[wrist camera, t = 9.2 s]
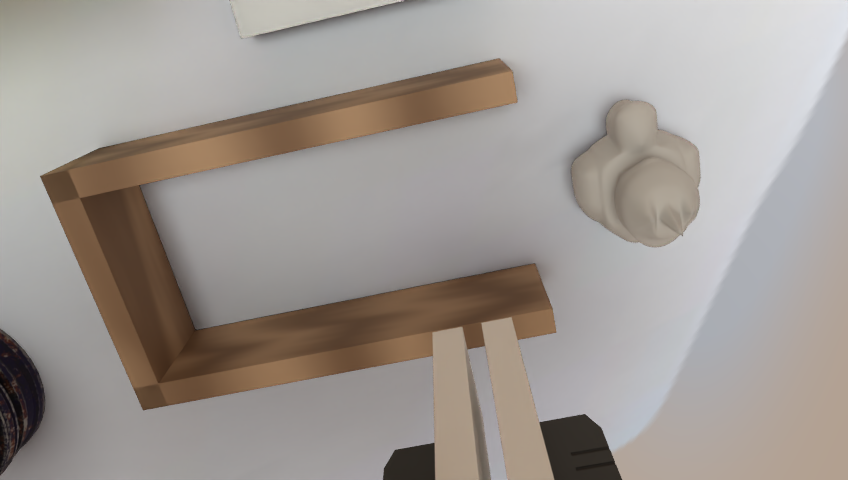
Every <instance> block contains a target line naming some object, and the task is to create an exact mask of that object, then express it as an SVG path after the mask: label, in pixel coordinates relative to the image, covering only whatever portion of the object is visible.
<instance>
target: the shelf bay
mask: <svg viewBox="0 0 848 480" xmlns="http://www.w3.org/2000/svg"><path fill="white" fill-rule="evenodd" d="M512 103H517V96H516V90H515V84H514V78H513V72H512V70H511V69H510V68H509V67H508V66H507V65H506V64H505V63H503V62H502V61H501V60H500V59H494V60H490V61H485V62H481V63H476V64H472V65H468V66H463V67H459V68H454V69H450V70H445V71H441V72H436V73H432V74H428V75H423V76H419V77H414V78H410V79H405V80H401V81H396V82H392V83H388V84H383V85H379V86H374V87H370V88H365V89H361V90H356V91H352V92H348V93H343V94H339V95H334V96H330V97H325V98H321V99H316V100H312V101H308V102H303V103H299V104H294V105H290V106H285V107H281V108H276V109H272V110H267V111H263V112H259V113H254V114H250V115H245V116H241V117H236V118H232V119H227V120H223V121H219V122H214V123H210V124H205V125H201V126H196V127H192V128H187V129H183V130H179V131H174V132H170V133H165V134H161V135H156V136H152V137H147V138H143V139H139V140H134V141H130V142H125V143H121V144H116V145H112V146H107V147H103V148H99V149H97V150H94V151H92V152H90V153H88V154H86V155H84V156H82V157H80V158H78V159H75V160H73V161H71V162H69V163H67V164H65V165H63V166H61V167H59V168H56V169H54V170H52V171H50V172H48V173H46V174H44V175H42V176H40V177H41V179H42V182H43V184H44V186H45V188H46V191H47V193H48V195H49V197H50V200H51V202H52V204H53V207H54V209H55V211H56V213H57V216H58V218H59V220H60V223H61V225H62V227H63V229H64V232H65V234H66V236H67V238H68V241H69V243H70V245H71V248H72V250H73V252H74V254H75V257H76V259H77V261H78V263H79V266H80V268H81V270H82V273H83V275H84V277H85V279H86V282H87V284H88V286H89V288H90V291H91V293H92V295H93V298H94V300H95V302H96V304H97V307H98V309H99V311H100V314H101V316H102V318H103V320H104V323H105V325H106V327H107V329H108V332H109V334H110V336H111V339H112V341H113V343H114V345H115V348H116V350H117V352H118V354H119V357H120V359H121V361H122V364H123V366H124V368H125V370H126V373H127V375H128V377H129V379H130V382H131V384H132V386H133V389H134V391H135V393H136V395H137V398H138V400H139V402H140V404H141V407H142V409H143V410H147V409H153V408H158V407H163V406H169V405H174V404H179V403H185V402H190V401H195V400H200V399H206V398H211V397H216V396H222V395H227V394H232V393H238V392H243V391H248V390H254V389H259V388H264V387H270V386H275V385H280V384H285V383H291V382H296V381H301V380H307V379H312V378H317V377H323V376H328V375H333V374H339V373H344V372H349V371H355V370H360V369H365V368H371V367H376V366H381V365H386V364H392V363H397V362H402V361H408V360H413V359H418V358H424V357H429V356H433V334H432V332H437V331H442V330H448V329H453V328H458V327H462V328H463V332H464V337H465V341H466V346H467V349H471V348H477V347H482V346H485V342H484V336H483V330H482V324H481V323H484V322H489V321H494V320H499V319H504V318H509V317H512V321H513V325H514V329H515V332H516V336H517V340H519V339H525V338H530V337H535V336H541V335H546V334H551V333H556V327H555V321H554V315H553V309H552V306H551V304H550V301H549V298H548V296H547V293H546V291H545V288H544V286H543V283H542V280H541V278H540V275H539V273H538V270H537V268H536V265H535V264H530V265H525V266H520V267H514V268H509V269H504V270H499V271H494V272H489V273H484V274H479V275H474V276H469V277H464V278H459V279H454V280H449V281H444V282H439V283H433V284H428V285H423V286H418V287H413V288H408V289H403V290H398V291H393V292H388V293H383V294H378V295H373V296H368V297H363V298H358V299H352V300H347V301H342V302H337V303H332V304H327V305H322V306H317V307H312V308H307V309H302V310H297V311H292V312H287V313H282V314H277V315H272V316H266V317H261V318H256V319H251V320H246V321H241V322H236V323H231V324H226V325H221V326H216V327H211V328H206V329H201V330H196V331H195V329H194V326H193V324H192V321H191V318H190V316H189V313H188V311H187V308H186V306H185V303H184V300H183V298H182V295H181V293H180V290H179V287H178V285H177V282H176V280H175V277H174V275H173V272H172V269H171V267H170V264H169V262H168V259H167V256H166V254H165V251H164V249H163V246H162V243H161V241H160V238H159V236H158V233H157V231H156V228H155V225H154V223H153V220H152V218H151V215H150V212H149V210H148V207H147V205H146V202H145V200H144V197H143V194H142V192H141V189H140V187H139V185H142V184H146V183H151V182H156V181H160V180H165V179H169V178H174V177H178V176H183V175H188V174H192V173H197V172H201V171H206V170H210V169H215V168H220V167H224V166H229V165H233V164H238V163H242V162H247V161H252V160H256V159H261V158H265V157H270V156H274V155H279V154H284V153H288V152H293V151H297V150H302V149H306V148H311V147H316V146H320V145H325V144H329V143H334V142H338V141H343V140H348V139H352V138H357V137H361V136H366V135H370V134H375V133H380V132H384V131H389V130H393V129H398V128H402V127H407V126H412V125H416V124H421V123H425V122H430V121H434V120H439V119H444V118H448V117H453V116H457V115H462V114H466V113H471V112H476V111H480V110H485V109H489V108H494V107H498V106H503V105H508V104H512Z"/></svg>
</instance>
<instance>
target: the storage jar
mask: <svg viewBox="0 0 848 480" xmlns="http://www.w3.org/2000/svg"><path fill="white" fill-rule="evenodd" d="M44 409H45V396H44V390H43V385H42V382H41V379H40V376H39V373H38V371H37V370H36V368H35V366H34V364H33V362H32V361H31V359H30V358H29V357H28V355H27V354H26V352H25V351H24V350H23V349H22V348H21V347H20V346H19V345H18V344H17V343H16V342H15V341H14V340H13V339H12V338H11V337H10V336H8V335H7V334H6V333H5V332H3V331H2V330H1V329H0V475H1V474H2V473H3V472H4V471H5V469H6V468H7V467H8V465H9V464H10V463H11V461H12V459H13V457H14V456H15V455H16V453H17V452H18V451H19V449H20V448H21V447H23V446H24V445H25V444H26V443H27V442H28V441H29V439H30V438H31V437H32V436H33V434H34V433H35V432H36V430H37V429H38V427H39V425H40V423H41V421H42V418H43V413H44Z"/></svg>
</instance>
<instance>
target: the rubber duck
mask: <svg viewBox="0 0 848 480" xmlns="http://www.w3.org/2000/svg"><path fill="white" fill-rule="evenodd" d="M606 130H607V135H606V136H605V137H603V138H602V139H600V140H599V141H597V142H596V143H594V144H593V145H592V146H591V147H590V148H589V150H588V151H586V152H585V153H583V154H582V155H580V156H579V157H578V158H577V159H576V160H575V161H574V162H573V164H572V168H571V174H572V182H573V189H574V195H575V198H576V201H577V203H578V205H579V206H580V208H581V209H582V210H583V212H584V213H585V214H586V215H587V216H588V217H590V218H591V219H593V220H595V221H597V222H599V223H600V224H601V225H603V226H604V227H605V228H606V229H608V230H609V231H611V232H612V233H614V234H616V235H617V236H619V237H621V238H622V239H624V240H626V241H629V242H634V243H636V242H640V243H642V244H644V245H646V246H649V247H661V246H665V245H667V244H669V243H671V242H672V241H674V240H675V239H676V238H677V237H678V236H679V235H682V236H683V232H684V231H685V230H686V228H687V226H688V225H689V224H690V223H691V222H692V221H693V220H694V219H695V217H696V216H697V213H698V210H699V204H700V198H699V191H698V186H699V183H700V161H699V151H698V149H697V147H696V146H695V145H694V144H692V143H691V142H689V141H687V140H685V139H684V138H681V137H678V136H675V135H672V134H670V133H668V132H666V131H662V130H657V113H656V110H655V108H654V107H653V106H652V105H651V104H649V103H647V102H643V101H630V100H621V101H619V102H617V103H616V104H614V105H613V106H612V108H611V109H610V111H609V112H608V115H607V118H606Z"/></svg>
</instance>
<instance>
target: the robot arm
mask: <svg viewBox="0 0 848 480" xmlns="http://www.w3.org/2000/svg"><path fill="white" fill-rule="evenodd" d="M481 324H482V330H483V336H484V342H485V348H486V354H487V360H488V365H489V371H490V377H491V383H492V389H493V395H494V401H495V407H496V413H497V419H498V425H499V431H500V437H501V443H502V449H503V455H504V461H505V467H506V473H507V479H508V480H622V479H621V476H620V474H619V471H618V468H617V466H616V465H615V461H614V459H613V456H612V454H611V451H610V450H609V446H608V444H607V441H606V439H605V436H604V434H603V431H602V429H601V427H599V426H598V425H597V424H596V423H595V422H594V421H592V420H591V419H590V418H589V417H588V416H587V415H585V414H583V415H577V416H572V417H566V418H561V419H555V420H550V421H544V422H539V420H538V416H537V412H536V408H535V405H534V401H533V397H532V393H531V389H530V386H529V382H528V378H527V374H526V370H525V367H524V363H523V359H522V355H521V351H520V348H519V344H518V340H517V336H516V332H515V329H514V325H513V321H512V317H509V318H504V319H499V320H494V321H489V322H484V323H481ZM432 334H433V385H434V436H435V443H431V444H426V445H420V446H415V447H409V448H404V449H398V450H395V451H394V453H393V454H392V456H391V458H390V459H389V461H388V463H387V464H386V466H385V468H384V476H383V480H491V477H490V470H489V462H488V455H487V447H486V440H485V432H484V425H483V417H482V412H481V408H480V404H479V399H478V395H477V390H476V386H475V381H474V377H473V372H472V368H471V364H470V359H469V355H468V350H467V346H466V341H465V337H464V332H463V328H462V327H458V328H453V329H448V330H442V331H437V332H432Z"/></svg>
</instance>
